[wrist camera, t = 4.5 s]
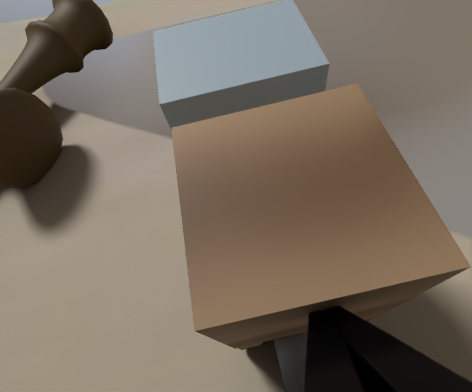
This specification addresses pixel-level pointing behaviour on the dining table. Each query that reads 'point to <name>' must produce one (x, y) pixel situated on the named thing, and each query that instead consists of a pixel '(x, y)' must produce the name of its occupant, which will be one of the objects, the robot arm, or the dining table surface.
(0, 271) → the dining table surface
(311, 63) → the end block
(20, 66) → the kendama
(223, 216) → the block
